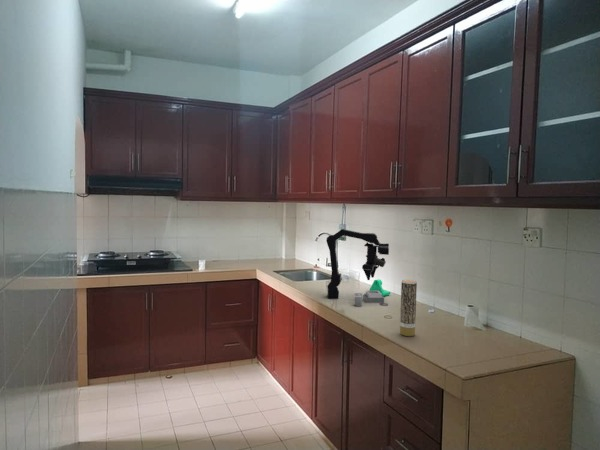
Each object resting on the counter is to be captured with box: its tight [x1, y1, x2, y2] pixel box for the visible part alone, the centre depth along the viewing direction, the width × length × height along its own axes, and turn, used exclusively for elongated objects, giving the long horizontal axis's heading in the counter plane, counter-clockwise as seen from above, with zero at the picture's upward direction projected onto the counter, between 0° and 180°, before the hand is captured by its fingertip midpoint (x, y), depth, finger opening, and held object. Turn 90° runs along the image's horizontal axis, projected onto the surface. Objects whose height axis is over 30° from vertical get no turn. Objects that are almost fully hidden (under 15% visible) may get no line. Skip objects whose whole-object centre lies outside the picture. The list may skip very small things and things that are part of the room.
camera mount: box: [368, 279, 391, 297], centre depth 266 cm, size 12×8×10 cm, turn 34°
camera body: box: [362, 290, 385, 304], centre depth 248 cm, size 11×8×6 cm
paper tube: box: [399, 279, 418, 337], centre depth 187 cm, size 7×7×25 cm
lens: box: [353, 292, 363, 308], centre depth 237 cm, size 5×5×7 cm
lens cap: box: [379, 302, 389, 307], centre depth 240 cm, size 5×5×1 cm
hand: (370, 278), depth 250 cm, fingers open, 9 cm apart
